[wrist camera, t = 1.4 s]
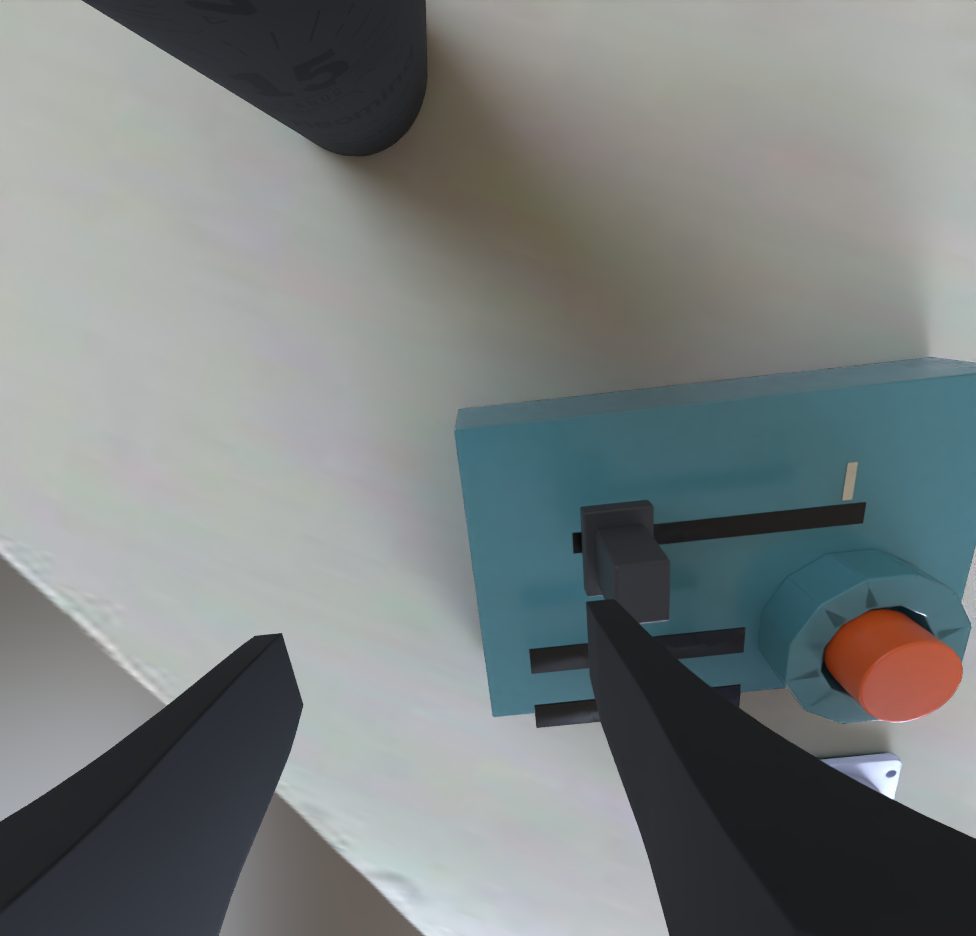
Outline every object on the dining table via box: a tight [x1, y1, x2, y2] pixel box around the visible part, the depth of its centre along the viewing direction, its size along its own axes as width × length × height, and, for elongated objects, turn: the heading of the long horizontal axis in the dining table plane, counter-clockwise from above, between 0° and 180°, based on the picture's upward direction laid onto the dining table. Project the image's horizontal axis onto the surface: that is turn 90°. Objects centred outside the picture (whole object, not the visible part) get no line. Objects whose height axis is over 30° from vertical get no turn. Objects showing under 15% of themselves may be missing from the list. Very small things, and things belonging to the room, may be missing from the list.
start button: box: [824, 609, 963, 722], centre depth 16 cm, size 3×3×2 cm
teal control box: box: [454, 357, 976, 724], centre depth 18 cm, size 12×18×5 cm, turn 96°
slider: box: [580, 500, 670, 624], centre depth 13 cm, size 3×2×3 cm
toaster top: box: [529, 461, 866, 728], centre depth 16 cm, size 9×10×1 cm
